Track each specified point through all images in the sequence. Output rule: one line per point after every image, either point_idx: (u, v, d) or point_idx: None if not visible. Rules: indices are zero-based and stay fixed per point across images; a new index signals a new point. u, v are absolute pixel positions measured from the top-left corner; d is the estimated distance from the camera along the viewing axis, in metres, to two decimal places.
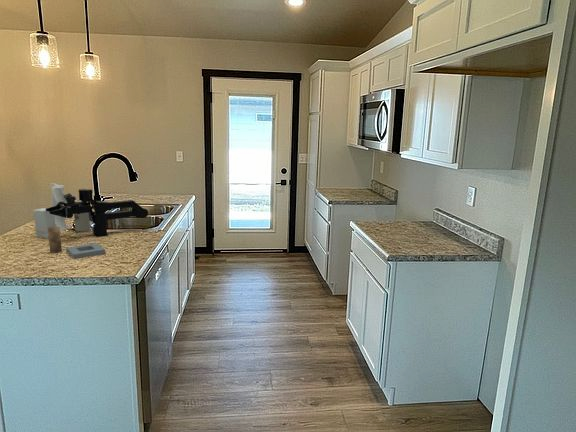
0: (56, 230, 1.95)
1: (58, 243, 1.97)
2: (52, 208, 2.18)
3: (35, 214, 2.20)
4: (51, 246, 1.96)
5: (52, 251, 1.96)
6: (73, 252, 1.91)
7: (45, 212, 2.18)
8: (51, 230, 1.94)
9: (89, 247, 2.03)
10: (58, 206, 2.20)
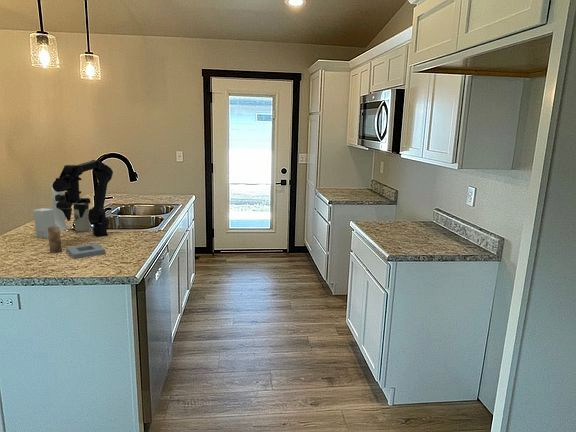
0: (56, 230, 1.95)
1: (58, 243, 1.97)
2: (80, 211, 2.15)
3: (35, 214, 2.20)
4: (51, 246, 1.96)
5: (52, 251, 1.96)
6: (73, 252, 1.91)
7: (45, 212, 2.18)
8: (51, 230, 1.94)
9: (89, 247, 2.03)
10: (79, 205, 2.15)
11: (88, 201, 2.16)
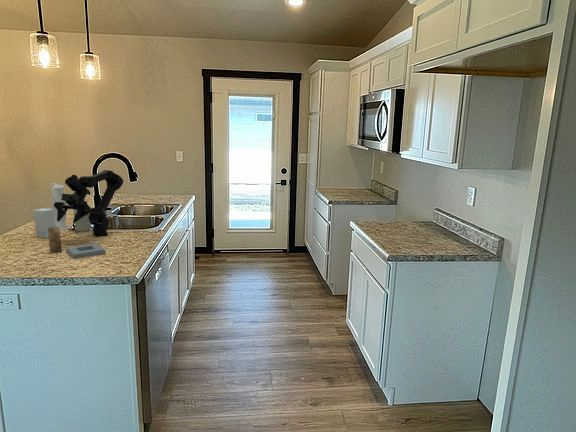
0: (56, 230, 1.95)
1: (58, 243, 1.97)
2: (60, 215, 2.06)
3: (35, 214, 2.20)
4: (51, 246, 1.96)
5: (52, 251, 1.96)
6: (73, 252, 1.91)
7: (45, 212, 2.18)
8: (51, 230, 1.94)
9: (89, 247, 2.03)
10: (61, 209, 2.07)
11: None
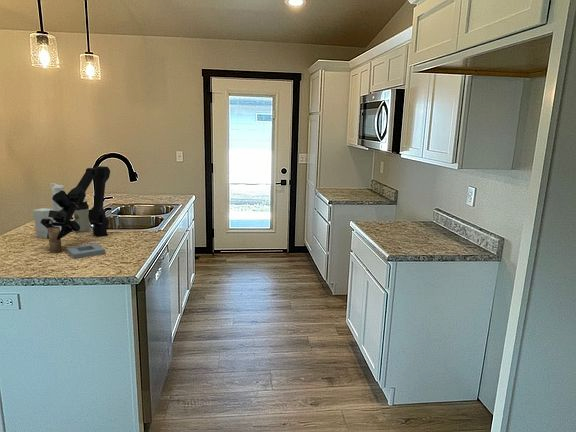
0: (56, 230, 1.95)
1: (58, 243, 1.97)
2: None
3: (35, 214, 2.20)
4: (51, 246, 1.96)
5: (52, 251, 1.96)
6: (73, 252, 1.91)
7: (45, 212, 2.18)
8: (51, 230, 1.94)
9: (89, 247, 2.03)
10: (51, 226, 1.99)
11: None
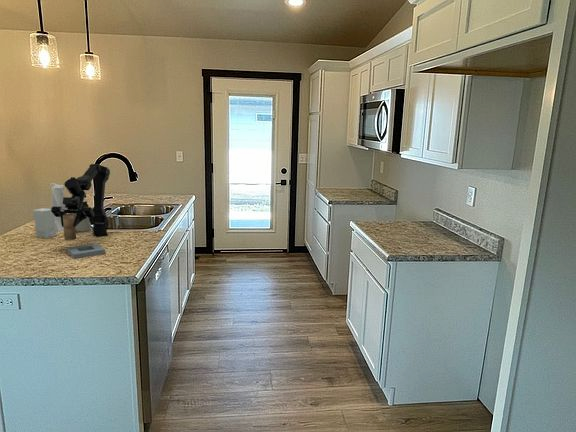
0: (72, 217, 1.94)
1: (74, 230, 1.95)
2: None
3: (35, 214, 2.20)
4: (67, 233, 1.94)
5: (68, 238, 1.94)
6: (73, 252, 1.91)
7: (45, 212, 2.18)
8: (67, 217, 1.92)
9: (89, 247, 2.03)
10: (64, 214, 1.96)
11: None
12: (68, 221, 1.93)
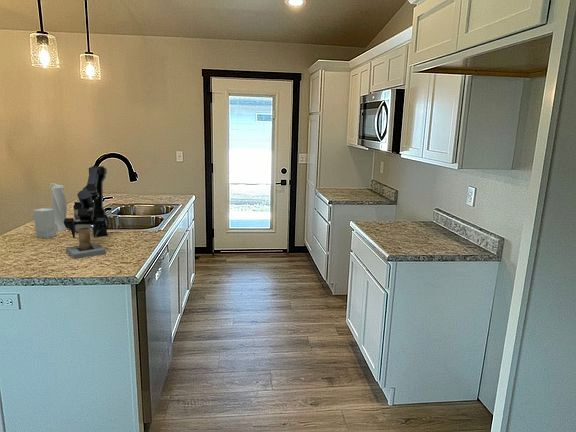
0: (88, 231, 1.96)
1: (90, 244, 1.98)
2: (74, 231, 1.96)
3: (35, 214, 2.20)
4: (84, 247, 1.96)
5: None
6: (73, 252, 1.91)
7: (45, 212, 2.18)
8: (84, 231, 1.94)
9: None
10: (73, 225, 1.97)
11: None
12: (85, 235, 1.95)
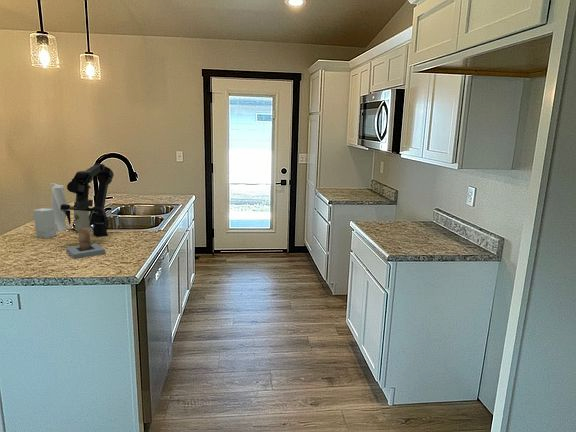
0: (88, 231, 1.96)
1: (90, 244, 1.98)
2: None
3: (35, 214, 2.20)
4: (84, 247, 1.96)
5: None
6: (73, 252, 1.91)
7: (45, 212, 2.18)
8: (84, 231, 1.94)
9: None
10: None
11: None
12: (85, 235, 1.95)
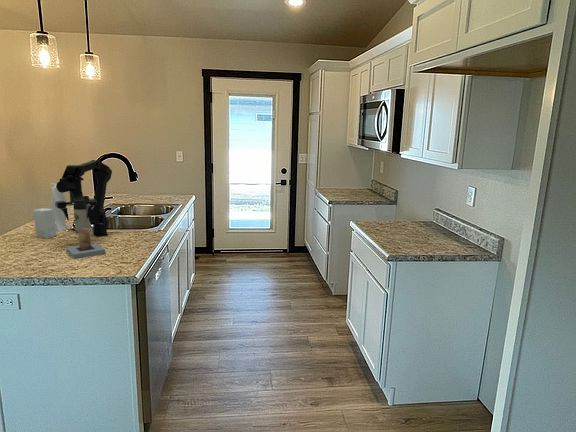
0: (88, 231, 1.96)
1: (90, 244, 1.98)
2: None
3: (35, 214, 2.20)
4: (84, 247, 1.96)
5: None
6: (73, 252, 1.91)
7: (45, 212, 2.18)
8: (84, 231, 1.94)
9: None
10: (66, 209, 2.06)
11: None
12: (85, 235, 1.95)
